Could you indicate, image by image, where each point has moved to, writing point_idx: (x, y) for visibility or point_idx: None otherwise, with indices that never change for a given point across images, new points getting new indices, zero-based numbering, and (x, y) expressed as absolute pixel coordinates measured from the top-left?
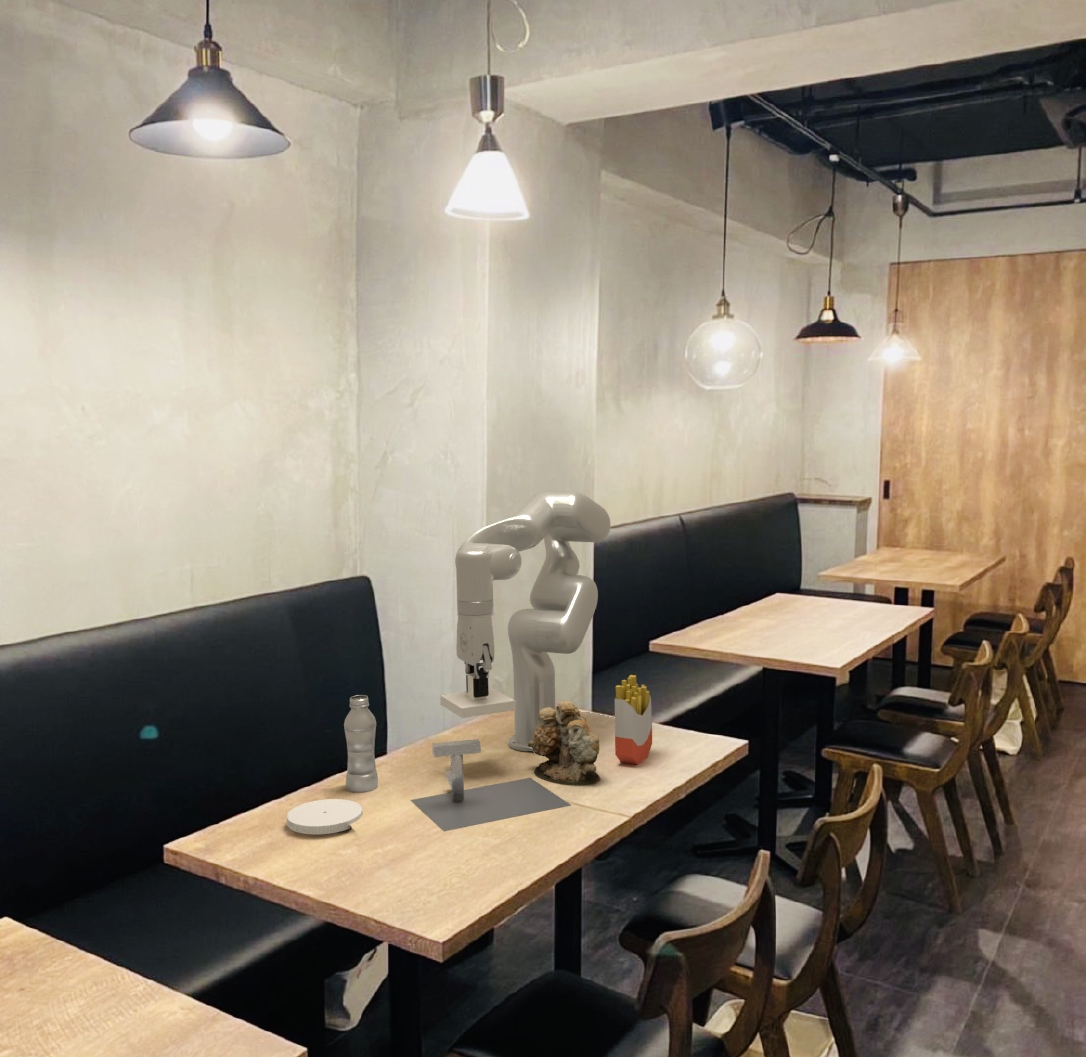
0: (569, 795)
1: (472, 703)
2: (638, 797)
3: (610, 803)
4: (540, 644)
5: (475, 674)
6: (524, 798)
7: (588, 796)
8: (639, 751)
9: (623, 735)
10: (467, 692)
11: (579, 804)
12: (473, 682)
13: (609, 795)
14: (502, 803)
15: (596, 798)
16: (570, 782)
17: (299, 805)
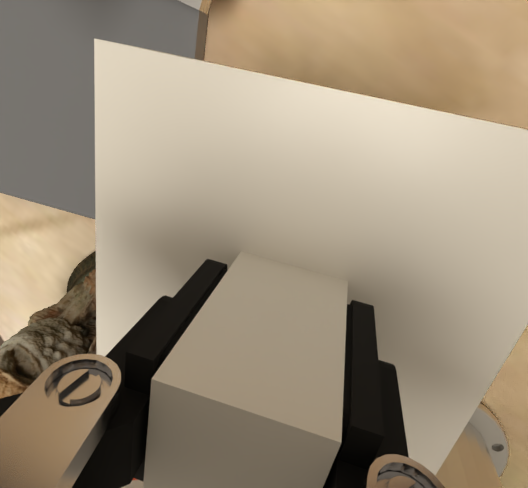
0: (82, 248)
1: (173, 193)
2: (19, 324)
3: (12, 271)
4: None
5: (88, 408)
6: (56, 131)
7: (60, 270)
8: None
9: (129, 485)
10: (353, 300)
11: (30, 227)
12: (164, 327)
13: (48, 300)
14: (49, 60)
15: (45, 273)
16: (83, 274)
17: None
